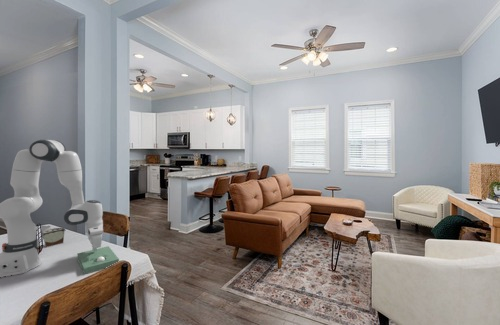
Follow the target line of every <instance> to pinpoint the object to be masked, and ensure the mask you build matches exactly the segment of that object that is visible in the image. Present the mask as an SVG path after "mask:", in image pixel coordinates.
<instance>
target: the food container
mask: <svg viewBox="0 0 500 325" xmlns="http://www.w3.org/2000/svg"><path fill="white" fill-rule="evenodd" d="M65 232H66V229H65V228H64V227H53V228H51V229H49V230H46V231H44V232H43V234H42V236H44V239H43V241H44V245H45V246H44V248H49V247H53V246H57V245H61V244H64V239H65Z"/></svg>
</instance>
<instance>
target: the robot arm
mask: <svg viewBox="0 0 500 325" xmlns="http://www.w3.org/2000/svg"><path fill="white" fill-rule="evenodd" d="M43 162H51V163H52V162H53V163H55V165H56V171H57V178H58V180H59V183H60V184H61V185H62V186H64V187H65V188H66V189H67V190H68V191H69V194H70V195H69V196H70V200H71V207H70V208H69V209H68V210H66V212H65V213H64V215H63V220H64V223H66V224H67V225H69V226H77V225H81V224H84V231H85V233H87V237H88V238H87V239H88V240H89V242H90V244H91V248H92V249H91V250H93V252H95V251H97V249H99V248H102V240H103V233H104V220H103V217H104V216H103V215H104V212H103V205H102V204H103V203H102V202H101V201H99V200H96V199H91V200H85V197H84V190H83V168H82V164H81V160H80V157H79V155H78V153H77V152H75V151H73V150H67V149H66V145H64V143H63V142H61V141H59V140H55V139H39V140H38V139H37V140H35V141H34V142H32V143H31V144H30V146H29V147H28V149H27V148H26V149H21V150H19V151H18V152H17V153H16V155H15V158H14V161H13V163H12V164H13V165H12V167H11V173H10V174H11V175H10V181H9V184H10V186H11V187H12V188H13V191H14V195H13V197H9V198H6V199H5V200H3V201H1V202H0V219H1V220H2V221H3V223H4V225H5V228H6V232H7V233H6V234H7V242H4V243H2V244H1V249H2V252H1V253H0V277H1V278H4V277H3V276H6V277H11V275H12V276H17V275H21V274H25V273H27V272H29V271H30V270H32V269H35V268H36V267H39V266H40V265H41V264H42V261H41V259H40V257H39V251H38V248H39V242H38V241H39V240H37V238H36V227H37V226H36V224H35V223H34V222H33V219H32V218H31V214H32V213H34V212H35V211H37V210H38V209H39V208H40V207H41V206H42V205H43V198H42V196H41V194H40V188H39V182H40V177H41V176H40V175H41V168H42V163H43Z"/></svg>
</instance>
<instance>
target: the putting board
mask: <svg viewBox="0 0 500 325" xmlns="http://www.w3.org/2000/svg"><path fill="white" fill-rule="evenodd" d="M76 256H77V261H78V263H79V265H80V267H81V270H82V272H83V274H84V275H87V274H89V273H93V272H97V271H102V270H104V269H107V268H106V267H108V266H110V265H112V264H114V263H116V262H118V261H119V262H120V259H119V257H118V256H117V255H116V254H115V252H114V251H113V250H112V249H111V247H110V246H105V247H99V248H97V251H95V252H93V250H92V249H90V250H87V251H81V252H79V253H77V255H76ZM99 257H104V258H105V260H104V261H101V262H96V260H97V258H99ZM108 268H109V267H108Z"/></svg>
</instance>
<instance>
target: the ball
mask: <svg viewBox="0 0 500 325" xmlns="http://www.w3.org/2000/svg"><path fill="white" fill-rule="evenodd" d="M104 260H105V258H104V257H99V258H97V260H96V262H101V261H104Z"/></svg>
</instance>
